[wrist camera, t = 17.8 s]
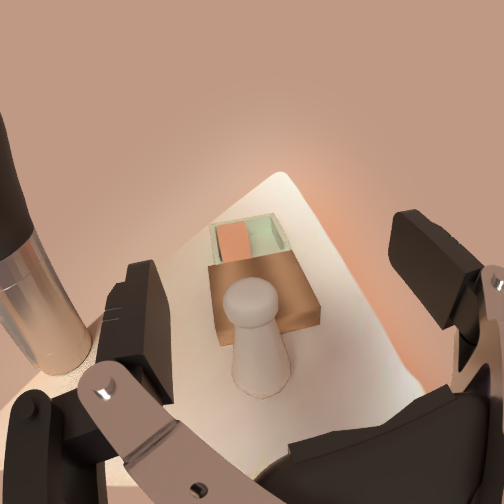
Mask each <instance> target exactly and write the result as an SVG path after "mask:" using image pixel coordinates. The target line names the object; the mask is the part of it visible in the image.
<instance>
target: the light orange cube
mask: <svg viewBox="0 0 504 504" xmlns="http://www.w3.org/2000/svg"><path fill="white" fill-rule="evenodd" d="M217 231H218V240H219V245H220V250H221V255H222V260H223V263H228V262H233V261H239V260H244V259H250V258H251V251H250V244H249V238H248V232H247V228H246V225H245V222H244V221H242V222H236V223H230V224H225V225H219V226H217Z"/></svg>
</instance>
